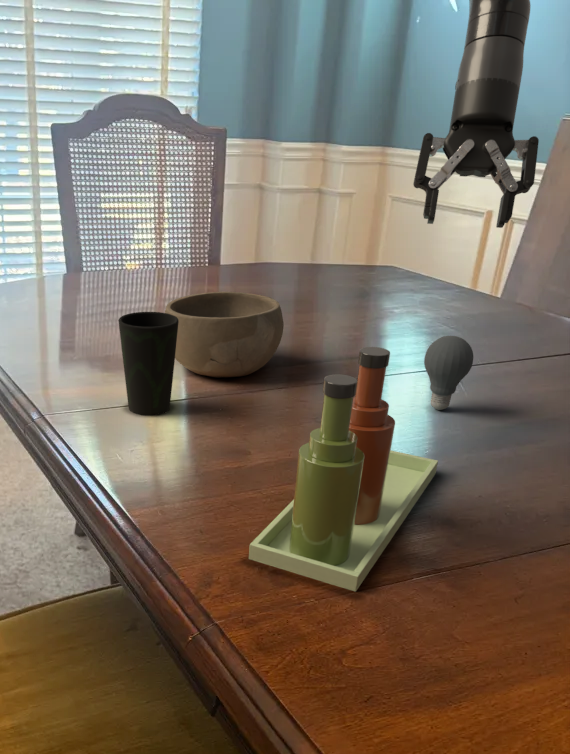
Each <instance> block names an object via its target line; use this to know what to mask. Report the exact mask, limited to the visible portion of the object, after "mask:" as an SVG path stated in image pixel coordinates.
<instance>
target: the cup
mask: <svg viewBox="0 0 570 754" xmlns="http://www.w3.org/2000/svg"><path fill="white" fill-rule="evenodd" d="M178 323H179V320H178V318H177V317H175V316H174V315H171V314H167V313H165V312H161V311H137V312H130V313H126V314H124V315H121V316H120V317H119V318H118V329H119V338H120V346H121V355H122V363H123V373H124V380H125V391H126V396H127V406H128V407H127V408H128V411H129V412H131V413H132V414H134V415H135V414H136V415H139V416H144V417H145V416H146V417H150V416H151V417H152V416H160V415H164V414H167V413H168V412H169V411H170V409H171V399H172V390H173V381H174V371H175V363H176V362H175V361H176V359H175V352H176V342H177V333H178Z"/></svg>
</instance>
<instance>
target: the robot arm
mask: <svg viewBox="0 0 570 754" xmlns="http://www.w3.org/2000/svg"><path fill="white" fill-rule="evenodd" d="M468 3H469V4H468V5H469V7H468V8H469V9H468V19H467V28H466V34H465V41H464V48H463V53H462V57H461V61H460V64H459V67H458V73H457V78H456V82H455V84H454V85H455V87H454V90H455V92H454V96H453V97H454V98H453V105H452V110H451V117H450V122H449V123H450V124H449V130H448V133H447V135H446V136H445V137H439V136H438V137H437V136H434V135H433V133H431V132H427V133H425V134H424V135H423V138H422V142H421V145H420V149H419V155H418V159H417V165H416V169H415V174H414V179H413V184H412V185H413V187H414V188H415V189H420V190H423V191H424V193H425V200H424V207H423V213H422V215H423V219H424V220H427V221H426V223H427V224H428V225H433V224H434V222H435V219H436V211H437V205H438V200H439V193H440V191H439V190H440V188H441V187H442V186H443V185H444V184H445V183H446V182H447V181H449V180H450V178H451V177H452V176H453V175H454V174H457V175H459V177H470V176H475V177H477V178H486V177H487V176H489V175H490V176H491V178H492V180H493V181H494V184H496V185H497V186H498V187H499V190H500V191H501V193H502V195H501V198H500V202H499V208H498V214H497V220H496V225H495V226H496V228H498V229H499V228H500V229H503V227H504V226H505V225H506V224H508V223H509V222H510V221H511V218H512V217H513V212H514V206H515V205H514V204H515V200H516V196H517V195H520V194H526V193H528V192H529V191H530V189H531V188H532V187H533V186H534V184H535V178H536V169H537V159H538V150H539V142H540V140H539V137H537V136H536V135H535V136H534V135H533V136H530V137H529V138H528V139H515V137H514V134H513V133H514V125H515V118H516V114H517V107H518V101H519V95H520V88H521V83H522V78H523V70H524V54H525V52H524V51H525V45H526V38H527V32H528V26H529V23H530V22H529V21H530V16H531V7H532V6H531V5H532V4H531V0H469V2H468ZM441 149H442V152H443V153H444V155H445V157H446V158H447V161H446V162H445V163H444V164H443V165H441V167H440V169H439V170H438V171H437V172H436V173H435V174H434V175H433V177H429V176H427V175H426V174H427V168H428V164H429V159H430V157H431V158H432V157H434V156H436V154H437V152H438V151H439V150H441ZM513 151H514V152H515V153H516V156H517V158H518V160H521V169H520V170H521V172H520V178H519V180H516V179H515V177H514V175H513V173H512V172H511V168H510V165H509V164H508V163H507V161H506V159H507V158H508V157H509V155H510V154H511V153H512V152H513Z"/></svg>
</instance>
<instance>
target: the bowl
mask: <svg viewBox="0 0 570 754" xmlns="http://www.w3.org/2000/svg"><path fill="white" fill-rule="evenodd" d="M164 309H165V310H164V313H167V314H171V315H174V316H175V317H177V318H178V320H179V323H178V333H177V342H176V352H175V361H177V362H178V363H179V365H182V366H183V367H184V368H186V369H187V370H189V371H190V372H192V373H195V374H197V375H200V376H207V377H209V378H210V377H211V378H219V379H220V378H237V377H239V378H240V377H245V376H249V375H251V374H253V373H255V372H256V371H259V370H260V369H262V368H263V367H264V366H265V365H266V364H268V362H270V360H272V358H273V357H274V355H275V353H276V352H277V350H278V349H279V346H280V343H281V341H282V338H283V334H284V327H285V326H284V325H285V324H284V317H283V312H282V311H283V310H282V307H281V305H280V303H279V301H277V300H276V299H274V298H272V297H270V296H266V295H263V294H255V293H247V292H241V291H208V292H200V293H193V294H189V295H185V296H181V297H178V298H175V299H173V300H171V301H169V302H168V303H167V304H166V307H165V308H164Z"/></svg>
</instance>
